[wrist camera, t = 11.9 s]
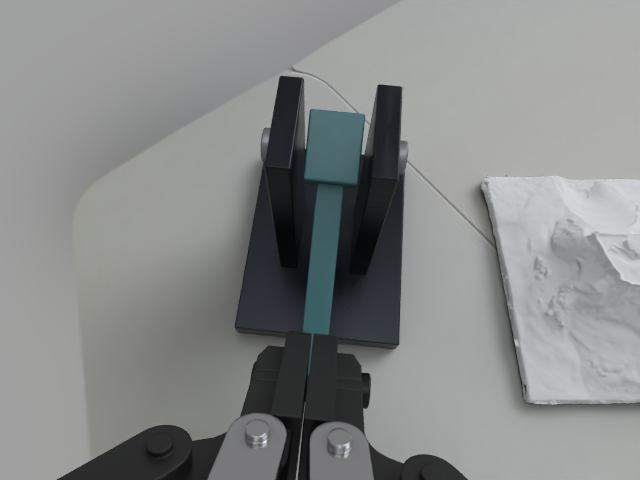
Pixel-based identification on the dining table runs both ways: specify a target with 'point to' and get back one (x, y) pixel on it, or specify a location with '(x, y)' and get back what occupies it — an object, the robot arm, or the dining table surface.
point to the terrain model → (571, 284)
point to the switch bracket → (354, 233)
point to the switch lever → (329, 210)
